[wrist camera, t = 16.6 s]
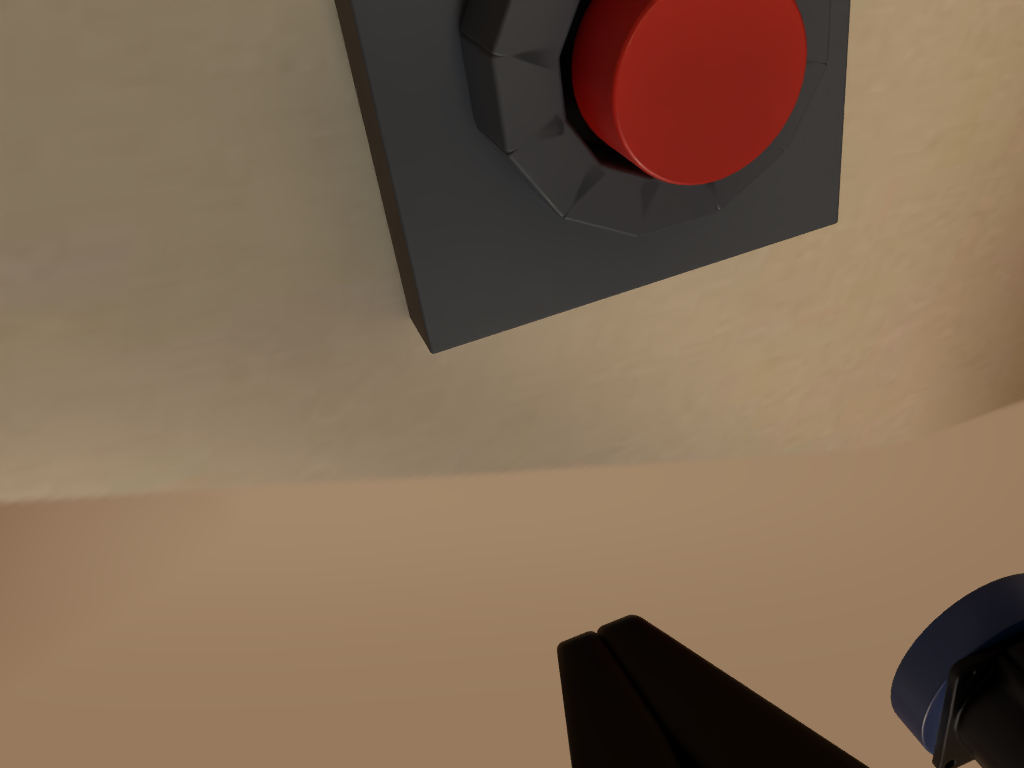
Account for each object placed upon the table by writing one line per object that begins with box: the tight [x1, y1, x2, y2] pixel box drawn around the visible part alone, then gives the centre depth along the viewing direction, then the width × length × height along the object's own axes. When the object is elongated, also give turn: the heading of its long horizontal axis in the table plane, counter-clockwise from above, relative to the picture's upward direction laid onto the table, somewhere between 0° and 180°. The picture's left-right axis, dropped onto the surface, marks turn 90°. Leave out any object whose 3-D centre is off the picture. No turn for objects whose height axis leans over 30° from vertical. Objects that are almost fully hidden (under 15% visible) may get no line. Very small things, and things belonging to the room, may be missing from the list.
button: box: [571, 0, 807, 185], centre depth 17 cm, size 4×4×2 cm
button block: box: [335, 0, 850, 354], centre depth 18 cm, size 11×10×4 cm
